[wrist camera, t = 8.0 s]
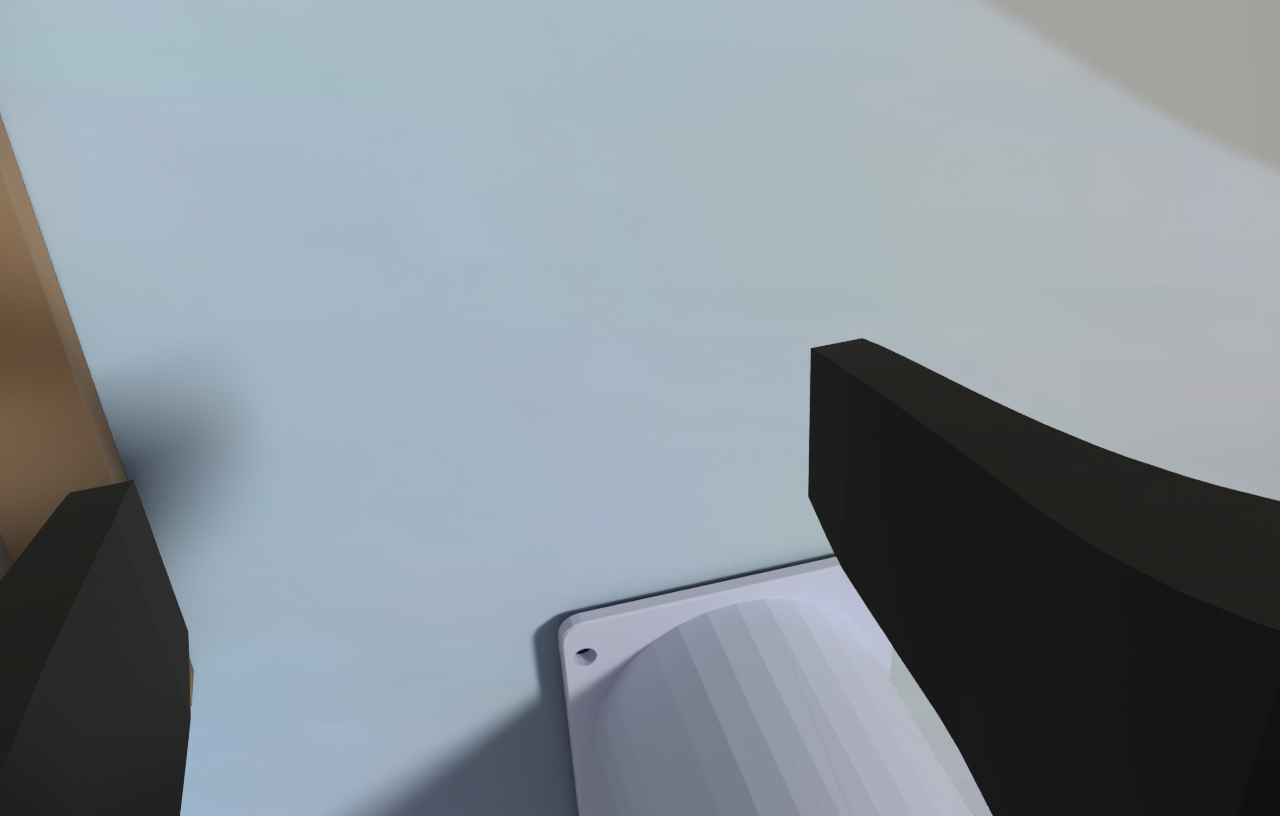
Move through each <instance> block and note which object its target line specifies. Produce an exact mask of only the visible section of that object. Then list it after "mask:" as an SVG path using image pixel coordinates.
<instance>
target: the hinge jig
mask: <svg viewBox="0 0 1280 816" xmlns="http://www.w3.org/2000/svg"><path fill="white" fill-rule="evenodd" d="M126 481H128V480H127V477H126V475H125V472H124V469H123V466H122V463H121V460H120V457H119V454H118V452H117V449H116V446H115V443H114V440H113V437H112V434H111V431H110V429H109V426H108V423H107V420H106V417H105V414H104V411H103V408H102V406H101V403H100V400H99V397H98V394H97V391H96V388H95V385H94V383H93V380H92V377H91V374H90V371H89V368H88V365H87V362H86V360H85V357H84V354H83V351H82V348H81V345H80V342H79V339H78V337H77V334H76V331H75V328H74V325H73V322H72V319H71V316H70V314H69V311H68V308H67V305H66V302H65V299H64V296H63V293H62V291H61V288H60V285H59V282H58V279H57V276H56V273H55V271H54V268H53V265H52V262H51V259H50V256H49V253H48V250H47V248H46V245H45V242H44V239H43V236H42V233H41V230H40V227H39V225H38V222H37V219H36V216H35V213H34V210H33V207H32V204H31V202H30V199H29V196H28V193H27V190H26V187H25V184H24V181H23V179H22V176H21V173H20V170H19V167H18V164H17V161H16V158H15V156H14V153H13V150H12V147H11V144H10V141H9V138H8V135H7V133H6V130H5V127H4V124H3V121H2V118H1V115H0V580H1V579H2V578H3V577H4V575H5V574H6V573H7V572H8V570H9V569H10V568H11V566H12V565H13V564H14V563H15V561H16V560H17V559H18V557H19V556H20V555H21V554H22V552H23V551H24V550H25V548H26V547H27V546H28V545H29V543H30V542H31V541H32V539H33V538H34V537H35V535H36V534H37V533H38V532H39V530H40V529H41V528H42V526H43V525H44V524H45V522H46V521H47V520H48V518H49V517H50V516H51V515H52V513H53V512H54V511H55V509H56V508H57V507H58V506H59V504H60V503H61V502H62V501H63V500H64V498H65V497H66V496H67V495H68V494H69V493H70V492H75V491H80V490H85V489H90V488H95V487H100V486H106V485H111V484H116V483H121V482H126ZM189 667H190V706H192V692H193V674H194V670H193V667H192V664H191V661H190V659H189Z"/></svg>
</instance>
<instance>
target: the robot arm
mask: <svg viewBox="0 0 1280 816" xmlns="http://www.w3.org/2000/svg"><path fill="white" fill-rule="evenodd" d="M808 497H809V499H810V501H811V503H812V506H813V508H814V510H815V512H816V515H817V517H818V519H819V521H820V523H821V526H822V528H823V530H824V532H825V535H826V537H827V539H828V541H829V543H830V545H831V547H832V549H833V551H834V553H835V555H836V557H832V558H828V559H823V560H819V561H814V562H810V563H805V564H800V565H796V566H791V567H787V568H782V569H778V570H773V571H769V572H764V573H759V574H755V575H750V576H746V577H741V578H737V579H732V580H728V581H723V582H718V583H714V584H709V585H705V586H700V587H696V588H691V589H687V590H682V591H677V592H673V593H668V594H664V595H659V596H655V597H650V598H646V599H641V600H636V601H632V602H627V603H623V604H618V605H614V606H609V607H605V608H600V609H595V610H591V611H586V612H582V613H578V614H575V615H572V616H570V617H569V618H567V619H566V620H565V621H563V623H562V624H561V626H560V627H559V631H558V640H559V649H560V658H561V667H562V675H563V684H564V693H565V701H566V710H567V719H568V728H569V736H570V745H571V754H572V762H573V771H574V780H575V789H576V797H577V806H578V815H579V816H974V815H973V814H972V812H971V810H970V809H969V807H968V806H967V804H966V802H965V801H964V799H963V797H962V796H961V794H960V792H959V791H958V789H957V788H956V786H955V784H954V783H953V781H952V779H951V778H950V776H949V774H948V773H947V771H946V770H945V768H944V766H943V765H942V763H941V761H940V760H939V758H938V756H937V755H936V753H935V752H934V750H933V748H932V747H931V745H930V743H929V742H928V740H927V738H926V737H925V735H924V734H923V732H922V730H921V729H920V727H919V725H918V724H917V722H916V720H915V719H914V717H913V716H912V714H911V712H910V711H909V709H908V707H907V706H906V704H905V702H904V701H903V699H902V698H901V696H900V694H899V693H898V691H897V689H896V688H895V686H894V684H893V683H892V681H891V680H890V678H889V677H890V666H891V655H892V646H893V648H894V649H895V651H896V652H897V654H898V655H899V657H900V658H901V660H902V661H903V663H904V664H905V666H906V667H907V669H908V670H909V672H910V673H911V675H912V676H913V678H914V679H915V681H916V682H917V684H918V685H919V687H920V688H921V690H922V691H923V693H924V694H925V696H926V697H927V699H928V700H929V702H930V703H931V705H932V706H933V708H934V709H935V711H936V712H937V714H938V715H939V717H940V719H941V720H942V722H943V724H944V725H945V727H946V729H947V730H948V732H949V734H950V735H951V737H952V739H953V740H954V742H955V744H956V745H957V747H958V749H959V751H960V753H961V755H962V756H963V758H964V760H965V762H966V764H967V766H968V768H969V770H970V772H971V774H972V776H973V778H974V780H975V782H976V784H977V786H978V788H979V790H980V792H981V794H982V795H983V797H984V799H985V801H986V803H987V805H988V807H989V809H990V811H991V813H992V815H993V816H1280V501H1277V500H1273V499H1269V498H1265V497H1261V496H1257V495H1253V494H1249V493H1245V492H1241V491H1237V490H1233V489H1229V488H1225V487H1221V486H1217V485H1214V484H1210V483H1207V482H1203V481H1200V480H1196V479H1193V478H1189V477H1186V476H1183V475H1180V474H1177V473H1174V472H1171V471H1168V470H1165V469H1162V468H1159V467H1156V466H1153V465H1150V464H1147V463H1143V462H1140V461H1137V460H1134V459H1131V458H1128V457H1125V456H1123V455H1120V454H1117V453H1115V452H1112V451H1109V450H1106V449H1104V448H1101V447H1099V446H1096V445H1093V444H1091V443H1089V442H1086V441H1084V440H1081V439H1079V438H1077V437H1074V436H1072V435H1069V434H1067V433H1064V432H1062V431H1060V430H1057V429H1055V428H1052V427H1050V426H1048V425H1045V424H1043V423H1041V422H1038V421H1036V420H1034V419H1032V418H1030V417H1027V416H1025V415H1023V414H1021V413H1018V412H1016V411H1014V410H1012V409H1010V408H1008V407H1006V406H1003V405H1001V404H999V403H997V402H995V401H993V400H991V399H989V398H987V397H985V396H982V395H980V394H978V393H976V392H974V391H972V390H970V389H968V388H966V387H964V386H962V385H960V384H958V383H956V382H954V381H952V380H950V379H948V378H946V377H944V376H942V375H940V374H938V373H936V372H934V371H932V370H930V369H928V368H926V367H924V366H922V365H920V364H918V363H916V362H914V361H912V360H910V359H908V358H906V357H904V356H902V355H899V354H897V353H895V352H893V351H891V350H889V349H887V348H885V347H882V346H880V345H878V344H875V343H873V342H870V341H868V340H866V339H863V338H861V339H856V340H851V341H846V342H841V343H836V344H830V345H825V346H820V347H815V348H811V371H810V429H809V487H808ZM584 648H590V650H589V651H587V652H585V653H583V654H576V653H577V652H578V651H580V650H582V649H584ZM190 719H191V712H190V667H189V640H188V630H187V627H186V624H185V622H184V619H183V616H182V613H181V611H180V608H179V605H178V602H177V600H176V597H175V594H174V591H173V588H172V586H171V583H170V580H169V577H168V575H167V572H166V569H165V566H164V564H163V561H162V558H161V555H160V553H159V550H158V547H157V544H156V542H155V539H154V536H153V533H152V530H151V528H150V525H149V522H148V519H147V517H146V514H145V511H144V508H143V506H142V503H141V500H140V497H139V495H138V492H137V489H136V486H135V484H134V481H133V480H131V481H126V482H121V483H116V484H111V485H106V486H100V487H95V488H90V489H85V490H80V491H75V492H70V493H69V494H68V495H67V496H66V497H65V498H64V500H63V501H62V502H61V503H60V504H59V506H58V507H57V508H56V509H55V511H54V512H53V513H52V515H51V516H50V517H49V518H48V520H47V521H46V522H45V524H44V525H43V526H42V528H41V529H40V530H39V532H38V533H37V534H36V535H35V537H34V538H33V539H32V541H31V542H30V543H29V545H28V546H27V547H26V548H25V550H24V551H23V552H22V554H21V555H20V556H19V557H18V559H17V560H16V561H15V563H14V564H13V565H12V566H11V568H10V569H9V570H8V572H7V573H6V574H5V575H4V577H3V578H2V579H1V580H0V816H180V810H181V802H182V793H183V785H184V776H185V766H186V757H187V748H188V739H189V729H190Z"/></svg>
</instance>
